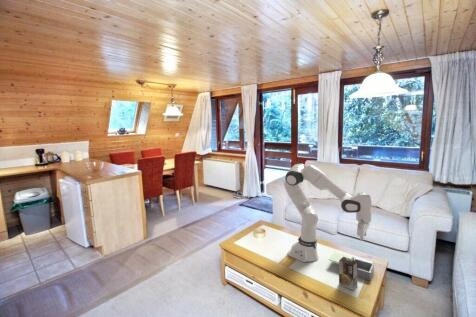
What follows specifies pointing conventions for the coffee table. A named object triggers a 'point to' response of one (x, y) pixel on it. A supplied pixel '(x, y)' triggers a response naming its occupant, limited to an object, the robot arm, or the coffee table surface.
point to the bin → (365, 269)
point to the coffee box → (348, 273)
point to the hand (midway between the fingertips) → (363, 237)
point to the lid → (339, 257)
